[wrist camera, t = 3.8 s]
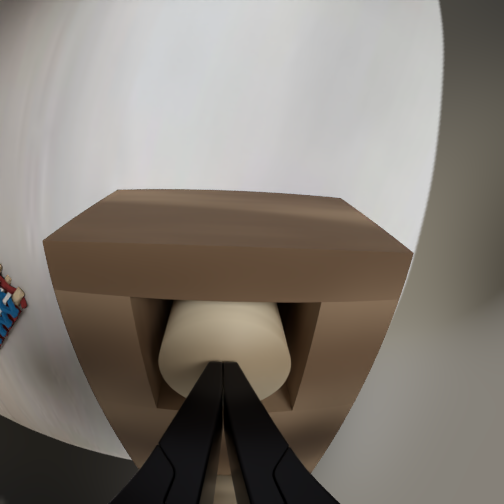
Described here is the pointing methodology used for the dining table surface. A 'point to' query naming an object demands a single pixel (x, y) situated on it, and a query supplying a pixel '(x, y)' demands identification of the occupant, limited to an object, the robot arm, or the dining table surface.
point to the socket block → (226, 299)
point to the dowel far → (224, 490)
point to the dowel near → (225, 343)
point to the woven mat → (9, 305)
